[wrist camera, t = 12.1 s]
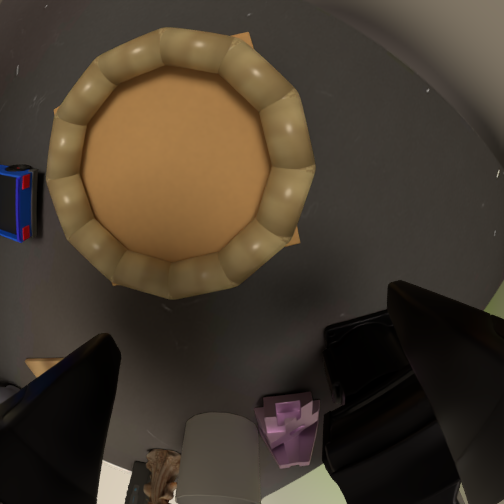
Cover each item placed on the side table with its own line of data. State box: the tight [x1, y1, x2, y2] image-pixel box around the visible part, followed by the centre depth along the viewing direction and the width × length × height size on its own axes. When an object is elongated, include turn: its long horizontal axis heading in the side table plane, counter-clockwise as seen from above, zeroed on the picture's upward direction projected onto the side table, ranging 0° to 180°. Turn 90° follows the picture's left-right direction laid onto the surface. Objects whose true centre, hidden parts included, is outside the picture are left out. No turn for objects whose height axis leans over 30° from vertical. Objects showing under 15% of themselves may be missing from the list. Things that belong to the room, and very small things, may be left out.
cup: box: [175, 412, 261, 504], centre depth 24 cm, size 8×8×10 cm
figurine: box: [143, 449, 181, 504], centre depth 25 cm, size 7×6×15 cm
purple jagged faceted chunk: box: [254, 391, 320, 469], centre depth 24 cm, size 8×7×6 cm
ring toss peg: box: [25, 358, 64, 377], centre depth 23 cm, size 8×8×7 cm
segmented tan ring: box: [46, 27, 316, 300], centre depth 15 cm, size 17×17×2 cm
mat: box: [54, 32, 300, 286], centre depth 17 cm, size 14×14×1 cm
